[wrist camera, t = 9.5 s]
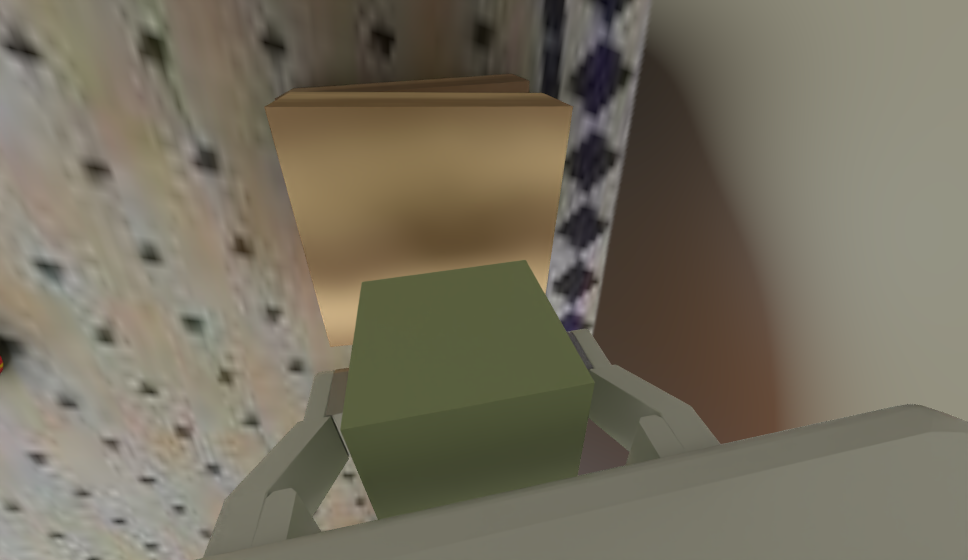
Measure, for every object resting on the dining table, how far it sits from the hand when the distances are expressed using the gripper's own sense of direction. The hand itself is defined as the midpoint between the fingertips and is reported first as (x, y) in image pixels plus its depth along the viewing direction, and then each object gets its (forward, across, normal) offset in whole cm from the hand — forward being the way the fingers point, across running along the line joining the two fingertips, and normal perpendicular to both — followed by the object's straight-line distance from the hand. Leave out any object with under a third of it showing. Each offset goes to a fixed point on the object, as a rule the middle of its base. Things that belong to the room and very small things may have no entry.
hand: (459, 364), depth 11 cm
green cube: (+2, 0, 0) cm, 2 cm away
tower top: (+12, 0, 0) cm, 12 cm away
